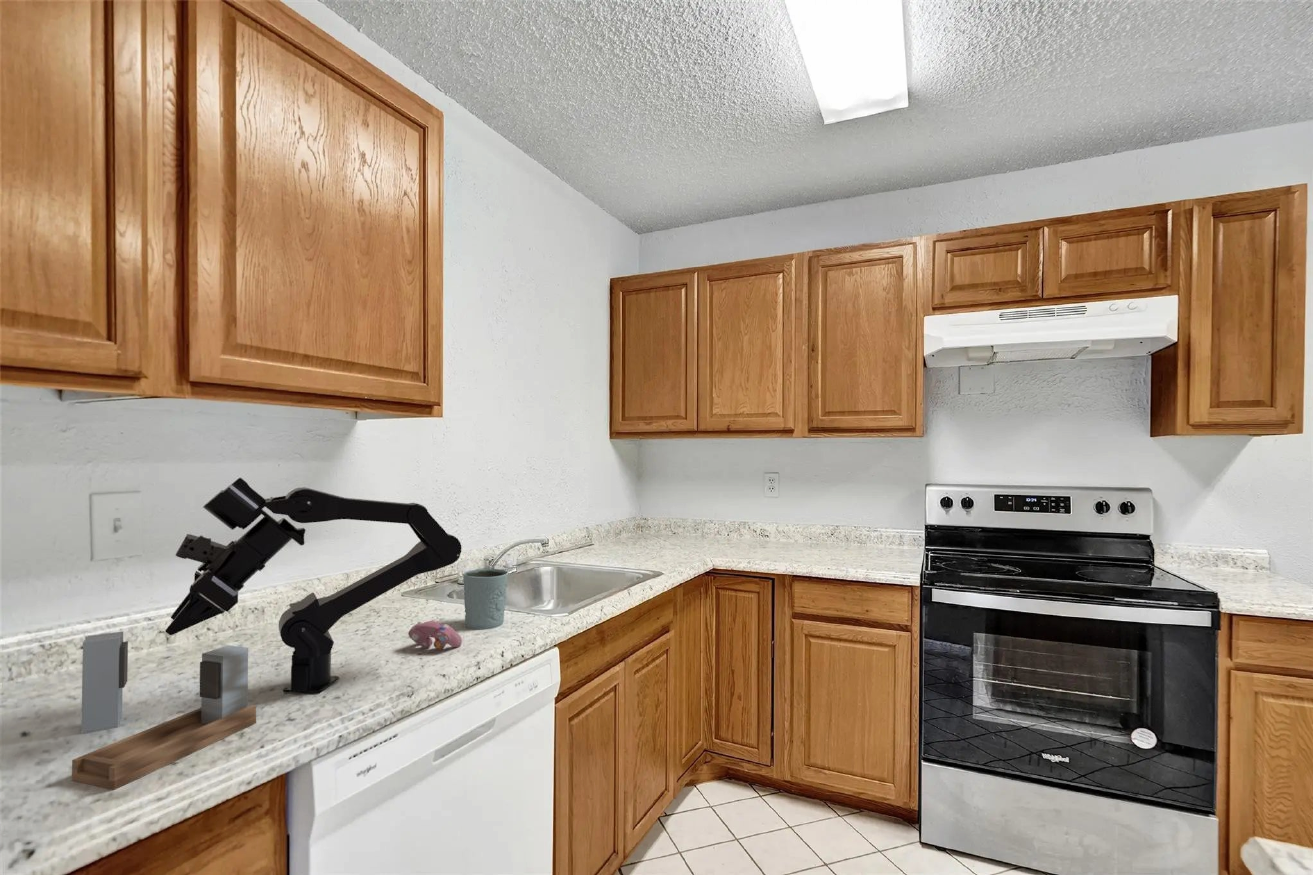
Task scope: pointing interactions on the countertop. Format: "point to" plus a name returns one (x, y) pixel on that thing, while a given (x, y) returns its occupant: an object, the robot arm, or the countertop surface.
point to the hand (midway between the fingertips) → (170, 626)
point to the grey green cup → (485, 598)
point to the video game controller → (434, 635)
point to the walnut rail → (178, 726)
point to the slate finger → (103, 681)
